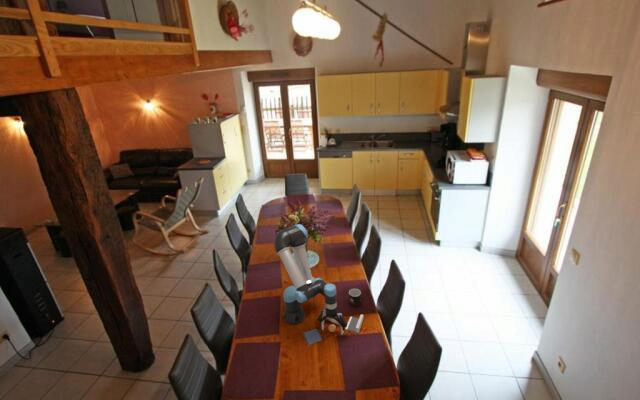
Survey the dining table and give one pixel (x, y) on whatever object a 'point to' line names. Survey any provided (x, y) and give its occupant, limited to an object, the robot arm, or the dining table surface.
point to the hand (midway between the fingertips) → (332, 331)
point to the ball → (332, 328)
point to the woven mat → (312, 336)
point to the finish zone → (355, 324)
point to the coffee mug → (355, 297)
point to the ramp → (330, 319)
